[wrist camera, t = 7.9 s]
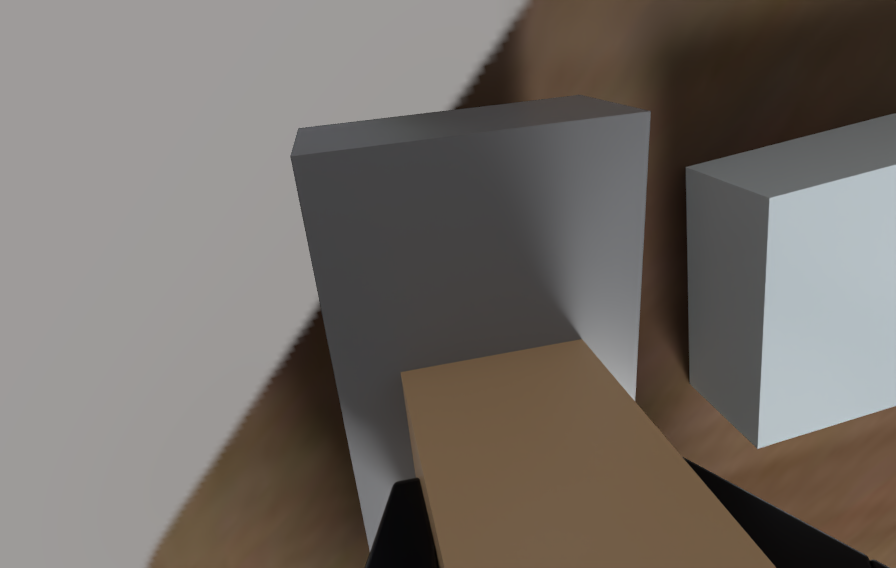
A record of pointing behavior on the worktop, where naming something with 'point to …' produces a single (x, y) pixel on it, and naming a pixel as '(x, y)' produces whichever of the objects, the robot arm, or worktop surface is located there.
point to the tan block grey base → (503, 334)
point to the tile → (795, 281)
